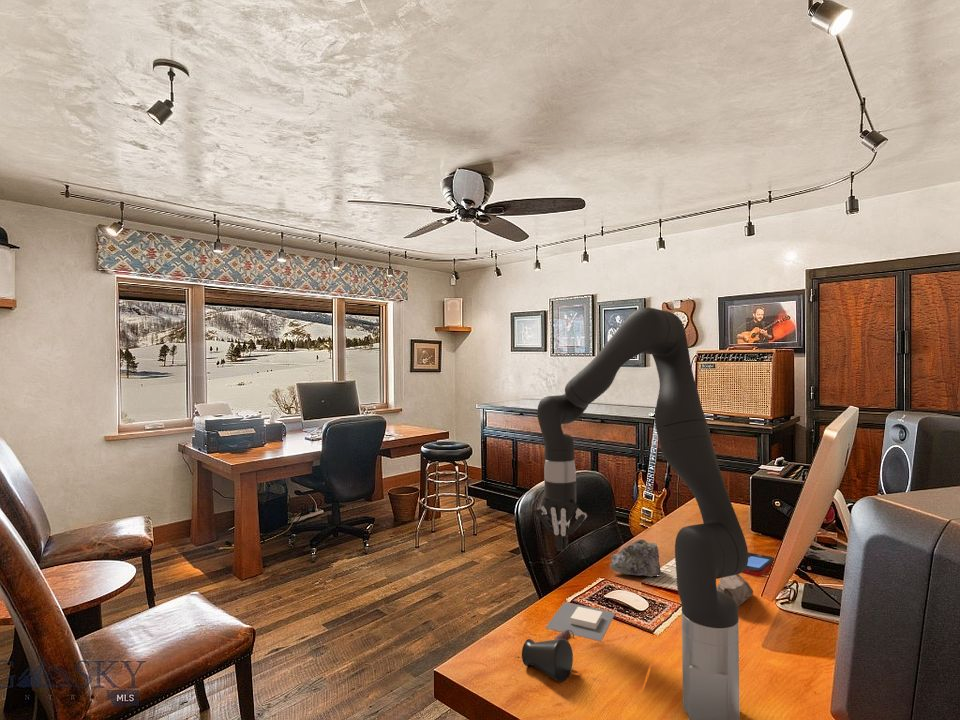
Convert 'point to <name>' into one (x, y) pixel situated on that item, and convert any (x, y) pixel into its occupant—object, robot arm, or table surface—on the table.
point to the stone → (735, 588)
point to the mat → (563, 623)
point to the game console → (758, 564)
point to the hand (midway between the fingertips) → (561, 549)
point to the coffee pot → (550, 656)
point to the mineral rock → (637, 559)
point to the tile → (586, 618)
